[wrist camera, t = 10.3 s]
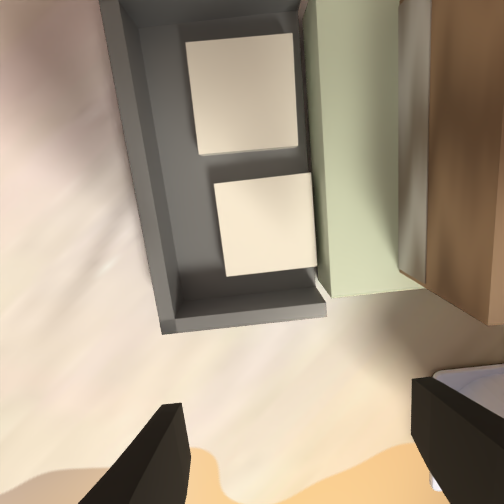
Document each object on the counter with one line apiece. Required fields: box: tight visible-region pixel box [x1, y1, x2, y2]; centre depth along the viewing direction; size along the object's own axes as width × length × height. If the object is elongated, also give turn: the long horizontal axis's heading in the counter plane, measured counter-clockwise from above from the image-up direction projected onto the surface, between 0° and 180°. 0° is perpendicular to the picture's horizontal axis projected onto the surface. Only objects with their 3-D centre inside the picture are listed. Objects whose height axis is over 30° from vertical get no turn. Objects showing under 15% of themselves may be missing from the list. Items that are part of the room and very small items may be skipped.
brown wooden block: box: [398, 0, 504, 326], centre depth 12 cm, size 12×3×6 cm, turn 6°
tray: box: [99, 0, 327, 335], centre depth 16 cm, size 16×9×3 cm, turn 6°
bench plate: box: [302, 0, 425, 298], centre depth 16 cm, size 14×10×3 cm
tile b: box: [185, 33, 298, 156], centre depth 16 cm, size 5×5×1 cm
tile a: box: [214, 173, 317, 277], centre depth 17 cm, size 5×5×1 cm
